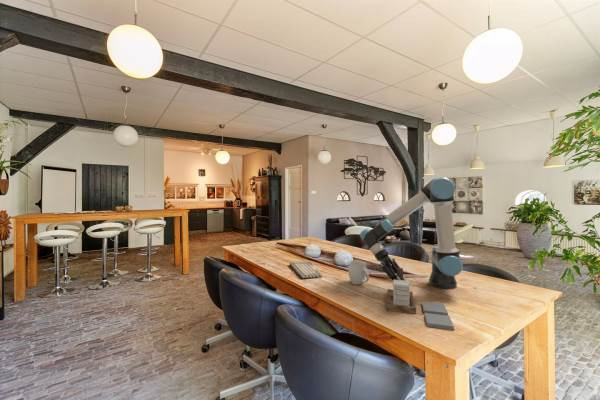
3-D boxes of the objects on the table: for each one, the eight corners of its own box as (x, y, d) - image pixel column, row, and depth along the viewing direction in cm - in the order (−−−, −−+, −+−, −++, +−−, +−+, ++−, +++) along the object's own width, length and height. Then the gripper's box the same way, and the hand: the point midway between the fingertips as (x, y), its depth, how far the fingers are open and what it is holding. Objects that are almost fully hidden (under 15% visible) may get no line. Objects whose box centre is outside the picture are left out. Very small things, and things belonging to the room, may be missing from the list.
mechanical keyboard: (327, 278, 182) (327, 273, 182) (300, 281, 177) (300, 275, 177) (309, 264, 219) (309, 260, 218) (286, 266, 213) (286, 262, 213)
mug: (374, 285, 165) (374, 264, 165) (362, 289, 159) (362, 267, 159) (357, 279, 177) (357, 259, 177) (344, 282, 171) (344, 261, 171)
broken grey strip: (443, 306, 134) (443, 303, 134) (453, 330, 112) (454, 326, 112) (421, 304, 138) (421, 301, 137) (427, 326, 115) (427, 322, 115)
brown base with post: (412, 294, 151) (412, 268, 150) (416, 313, 127) (416, 282, 126) (387, 291, 155) (387, 266, 154) (386, 310, 131) (386, 280, 130)
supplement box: (393, 303, 138) (393, 279, 138) (408, 305, 136) (409, 280, 135) (393, 309, 131) (393, 283, 131) (409, 311, 129) (409, 285, 128)
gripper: (383, 253, 167) (409, 287, 155) (367, 258, 155) (393, 295, 143) (391, 246, 163) (418, 280, 151) (375, 250, 151) (403, 287, 139)
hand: (406, 287), depth 147 cm, fingers closed on brown base with post, 4 cm apart
